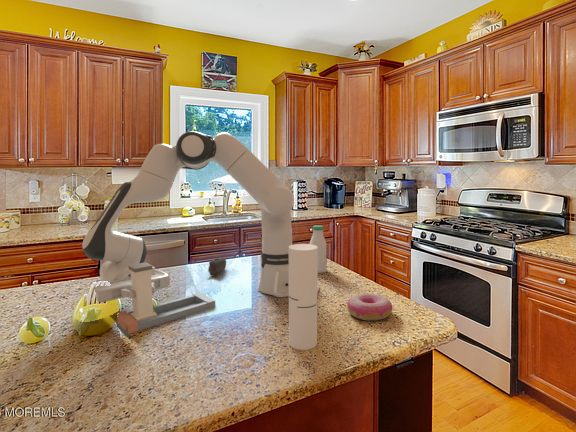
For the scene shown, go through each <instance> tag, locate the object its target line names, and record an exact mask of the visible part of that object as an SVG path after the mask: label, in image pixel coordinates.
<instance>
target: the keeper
mask: <svg viewBox="0 0 576 432" xmlns="http://www.w3.org/2000/svg"><path fill="white" fill-rule="evenodd" d="M128 266H129V269H130V270H131V281H132V290H134V291H135V292H136V294H135V295H136V297H134V298H132V309H133V310H132V311H133V312H134V313H130V316H132V317H133V318H134V319H135V320H136V321H137V322H139V321H142V320H145V319H149V318H152V317H156V316H157V313H155V312H154V311H153V306H154V302H153V293H152V283H151V269H153V267H154V266H153V265H152V264H150V263H148V262H146V261H144V263H139V264H134V265H128Z"/></svg>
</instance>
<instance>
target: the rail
mask: <svg viewBox="0 0 576 432" xmlns="http://www.w3.org/2000/svg"><path fill="white" fill-rule="evenodd" d="M155 305H156V306H155V307H153V308H154V309H155V313H157V316H156V317H152V318H149V319H145V320H142V321H139V322H137V321H136V320H135V319H134V318H133V317H132V316H130V313H134V312H133V310H132V311H128V312H127V311H126V310H122V311H119V314H118V315H117V316H118V317H117V320H115V322H116V328H117V329H118V330H119V331H121V333H122V334H123V335H124V336H125V337H126V338H127V339H128V340H132V339H133V337H132V336H131V335H130V334H132V333H136V332H139V331H142V330H146V329H149V328H152V327H156V326H159V325H162V324H164V323H168V322H172V321H174V320H177V319H180V318H184V317H188V316H190V315H193V314H197V313H200V312H203V311H207V310H210V309H213V308H216V300H215V299H214V298H211V297H209V296H207V295H206V294H204V293H201V292H195V293H192V294H191V295H188V296H184V297H180V298H176V299H172V300H169V301H165V302H162V303H158V304H155Z"/></svg>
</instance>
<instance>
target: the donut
mask: <svg viewBox="0 0 576 432" xmlns="http://www.w3.org/2000/svg"><path fill="white" fill-rule="evenodd" d="M346 305H347V306H346V307H347V308H346V309H347V311H348V313H349V314H350V315H352V316H353V317H354V318H356V319H358V320H363V321H373V322H374V321H381V320H384V319H386V318H387V317H389V316H390V315H391V313H392V311H393V304H392V302H391V301H390V300H389V299H388V298H387V297H385V296H383V295H379V294H377V293H376V294H375V293H359V294H355V295H353V296H351V297H350V298H349V299H348V301H347V303H346Z"/></svg>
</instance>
